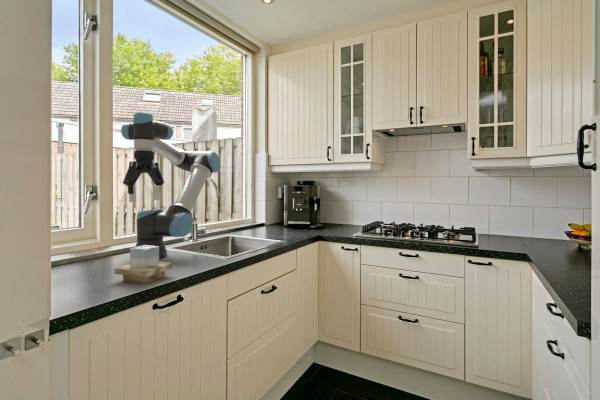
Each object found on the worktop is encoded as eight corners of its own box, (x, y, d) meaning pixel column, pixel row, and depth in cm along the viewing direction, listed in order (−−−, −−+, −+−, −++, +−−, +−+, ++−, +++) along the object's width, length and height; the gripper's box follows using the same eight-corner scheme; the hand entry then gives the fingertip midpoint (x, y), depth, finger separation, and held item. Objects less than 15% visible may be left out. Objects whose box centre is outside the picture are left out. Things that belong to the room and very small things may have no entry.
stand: (143, 272, 132) (143, 259, 132) (172, 275, 128) (172, 263, 127) (114, 281, 119) (114, 268, 119) (145, 286, 114) (144, 272, 114)
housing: (159, 264, 125) (159, 246, 125) (145, 268, 118) (145, 249, 118) (141, 262, 128) (141, 244, 127) (126, 266, 121) (126, 248, 121)
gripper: (157, 152, 149) (158, 199, 151) (111, 147, 125) (113, 202, 127) (171, 152, 147) (172, 199, 148) (127, 147, 123) (128, 203, 125)
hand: (145, 201), depth 138 cm, fingers open, 13 cm apart
